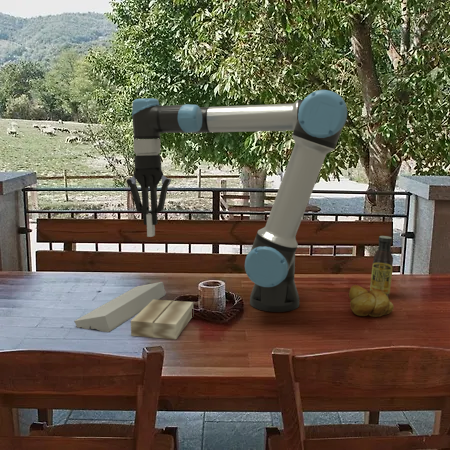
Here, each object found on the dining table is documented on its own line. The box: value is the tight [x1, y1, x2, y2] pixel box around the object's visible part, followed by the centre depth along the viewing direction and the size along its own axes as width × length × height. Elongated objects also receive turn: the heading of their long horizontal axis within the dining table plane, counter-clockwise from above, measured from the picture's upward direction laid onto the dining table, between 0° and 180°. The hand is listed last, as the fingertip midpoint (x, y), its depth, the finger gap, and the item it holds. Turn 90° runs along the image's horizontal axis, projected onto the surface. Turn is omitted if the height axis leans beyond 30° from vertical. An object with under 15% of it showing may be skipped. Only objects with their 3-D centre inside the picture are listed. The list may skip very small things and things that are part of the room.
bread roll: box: [348, 284, 395, 318], centre depth 149 cm, size 13×10×8 cm
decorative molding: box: [74, 281, 167, 333], centre depth 151 cm, size 34×5×10 cm
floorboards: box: [130, 299, 194, 340], centre depth 139 cm, size 12×18×4 cm, turn 169°
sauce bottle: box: [369, 235, 394, 298], centre depth 164 cm, size 7×6×20 cm
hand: (151, 235), depth 149 cm, fingers closed
